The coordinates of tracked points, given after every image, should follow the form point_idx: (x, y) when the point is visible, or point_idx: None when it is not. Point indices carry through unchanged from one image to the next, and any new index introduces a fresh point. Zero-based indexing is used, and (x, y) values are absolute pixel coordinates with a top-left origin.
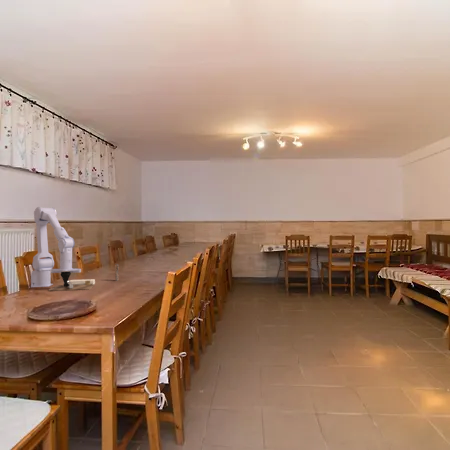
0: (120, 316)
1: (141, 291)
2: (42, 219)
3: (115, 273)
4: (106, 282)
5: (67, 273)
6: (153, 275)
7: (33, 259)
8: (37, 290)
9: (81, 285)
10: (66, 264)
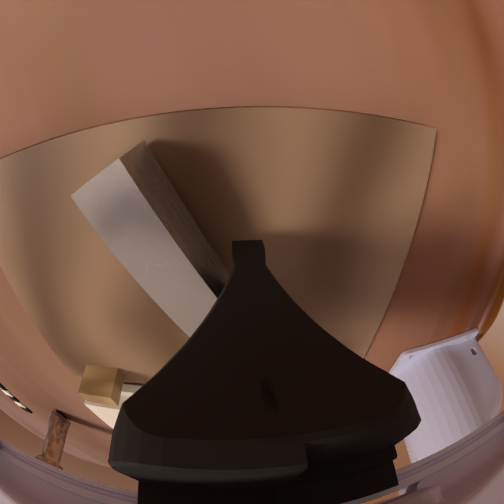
0: None
1: None
2: None
3: (53, 445)
4: (81, 410)
5: (145, 471)
6: (45, 436)
7: None
8: (489, 206)
9: (132, 355)
10: None
